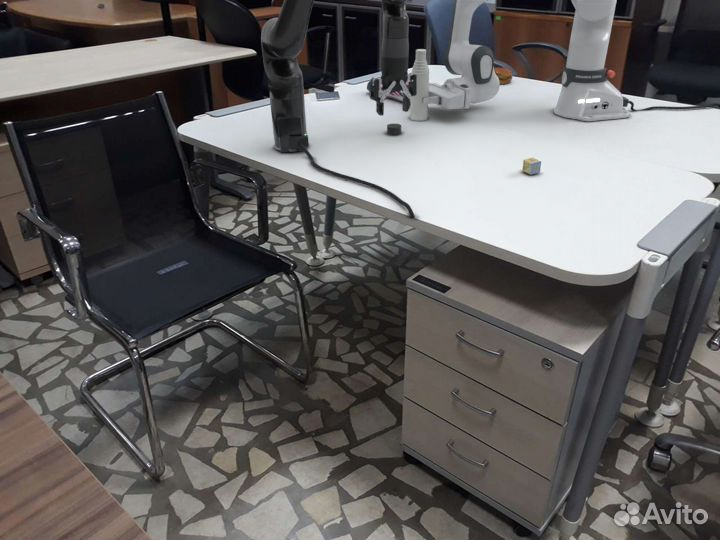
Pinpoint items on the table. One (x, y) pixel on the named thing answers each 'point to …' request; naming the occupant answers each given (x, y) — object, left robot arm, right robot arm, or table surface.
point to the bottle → (420, 87)
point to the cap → (393, 129)
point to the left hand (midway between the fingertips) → (393, 113)
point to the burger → (503, 75)
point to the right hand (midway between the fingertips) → (417, 98)
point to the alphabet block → (531, 166)
